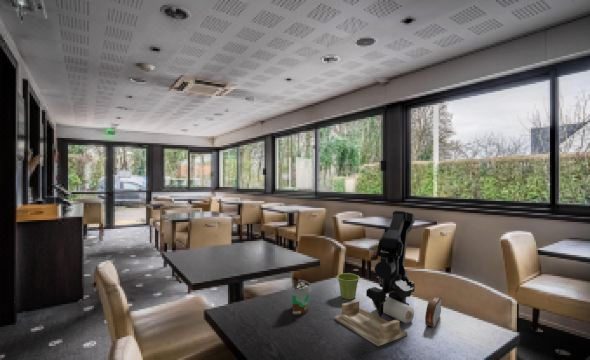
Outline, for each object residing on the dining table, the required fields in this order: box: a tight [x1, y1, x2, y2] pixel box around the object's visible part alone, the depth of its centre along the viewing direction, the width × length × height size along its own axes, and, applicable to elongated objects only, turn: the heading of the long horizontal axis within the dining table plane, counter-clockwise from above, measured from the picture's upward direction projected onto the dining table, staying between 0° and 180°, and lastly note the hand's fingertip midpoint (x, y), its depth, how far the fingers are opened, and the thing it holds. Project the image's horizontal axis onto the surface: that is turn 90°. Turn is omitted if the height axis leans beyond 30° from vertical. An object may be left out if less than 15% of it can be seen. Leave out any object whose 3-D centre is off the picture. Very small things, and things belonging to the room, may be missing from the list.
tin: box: [424, 294, 443, 328], centre depth 110 cm, size 15×3×8 cm, turn 145°
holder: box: [334, 299, 408, 347], centre depth 106 cm, size 13×21×5 cm, turn 31°
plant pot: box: [336, 272, 361, 300], centre depth 133 cm, size 9×9×9 cm
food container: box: [291, 279, 312, 317], centre depth 118 cm, size 12×6×10 cm, turn 168°
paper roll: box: [372, 295, 415, 324], centre depth 115 cm, size 14×6×6 cm, turn 31°
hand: (389, 313), depth 114 cm, fingers open, 9 cm apart
